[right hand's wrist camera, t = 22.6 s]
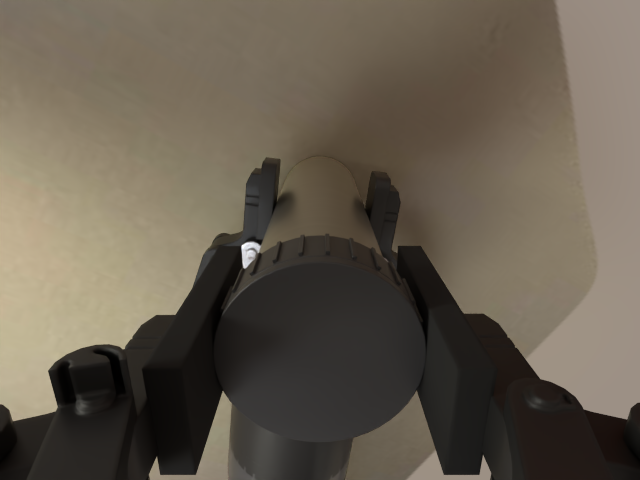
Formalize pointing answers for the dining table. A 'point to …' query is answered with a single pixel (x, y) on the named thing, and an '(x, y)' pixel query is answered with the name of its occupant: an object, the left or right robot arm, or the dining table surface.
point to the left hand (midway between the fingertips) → (326, 169)
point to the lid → (319, 340)
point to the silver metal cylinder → (319, 205)
